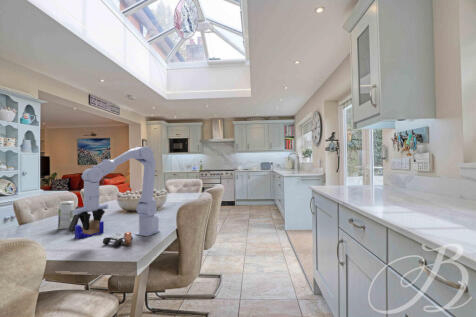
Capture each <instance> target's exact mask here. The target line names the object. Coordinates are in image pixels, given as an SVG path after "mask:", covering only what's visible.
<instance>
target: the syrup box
mask: <svg viewBox="0 0 476 317" xmlns="http://www.w3.org/2000/svg"><path fill="white" fill-rule="evenodd" d="M74 209H75V201H74V200H64V201H61V202H59V203H58V222H57V225H58V226H57V230H66V229H69V226H70V224H71V221H72V219H73V216H74V214H73V210H74Z"/></svg>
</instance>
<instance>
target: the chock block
mask: <svg viewBox="0 0 476 317" xmlns="http://www.w3.org/2000/svg"><path fill="white" fill-rule="evenodd" d="M98 232H99V220H94V219H89V229H88V230H84V228H83V233H84V234H90V235H91V234H95V233H98Z"/></svg>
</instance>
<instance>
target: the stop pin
mask: <svg viewBox="0 0 476 317" xmlns="http://www.w3.org/2000/svg"><path fill="white" fill-rule="evenodd" d="M123 235H124V239H122V240H121V241H122V243H121V244H124V246H127V247H129V246H131V245H132V242H131V236H132V232H131V231H126V232H124V234H123Z"/></svg>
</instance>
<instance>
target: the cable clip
mask: <svg viewBox="0 0 476 317" xmlns="http://www.w3.org/2000/svg"><path fill="white" fill-rule="evenodd" d="M104 222H105V221H103V220H100V224H99V232H98V233H95V234H91V235H90V234H84V233H83V230H82V229H81V227H82V226H81V225H82V224H81V225H80V224H77V225H75V231H74V238H75V239H77V240H81V239H86V238H90V237H93V236H95V235H101V234H103V233H105V232H104V230H105V229H104V228H105V226H104V225H105V223H104Z"/></svg>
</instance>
